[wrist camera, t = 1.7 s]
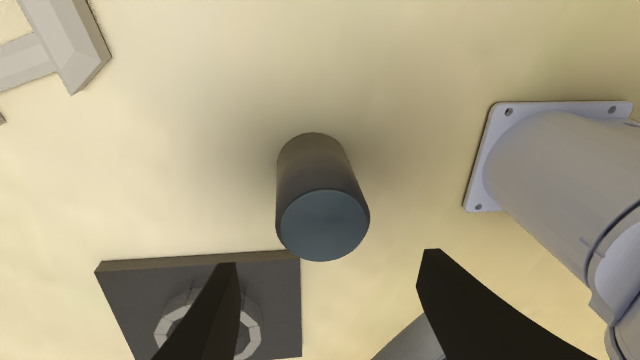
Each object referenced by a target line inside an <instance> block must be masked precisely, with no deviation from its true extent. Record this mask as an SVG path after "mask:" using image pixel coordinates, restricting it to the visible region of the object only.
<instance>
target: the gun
mask: <svg viewBox="0 0 640 360" xmlns="http://www.w3.org/2000/svg"><path fill="white" fill-rule="evenodd" d="M16 1H17V3H18V4H19V6H20V8H21V10H22V11H23V13H24V15H25V17H26V18H27V20H28V22H29V24H30V25H31V27H32V29H33V31H34V32H32V33H30V34H28V35H25V36H23V37H20V38H18V39H15V40H13V41H11V42H8V43H6V44H3V45H1V46H0V92H2V91H4V90H7V89H10V88H12V87H15V86H18V85H20V84H23V83H26V82H28V81H31V80H34V79H36V78H39V77H42V76H44V75H47V74H50V73H52V72H55V71H57V73H58V75H59V77H60V78H61V80H62V82H63V84H64V85H65V87H66V89H67V91H68V92H69V94H70V96H72V95H74V94H76V93H78V92H79V91H81V90H83V88H84V87H85V86H86V85H87V84H88V83H89V82H90V81H91V79H92V78H93V77H94V76H95V75H96V74H97V73H98V71H99V70H100V69H101V68H102V67H103V66H104V65H105V64H106V62H107V61H108V60H109V59H110V58H111V55H110V53H109V51H108V49H107V47H106V44H105V42H104V40H103V38H102V36H101V34H100V31H99V29H98V27H97V25H96V23H95V21H94V18H93V16H92V14H91V12H90V10H89V8H88V5H87V3H86V1H85V0H16ZM4 123H6V122H5V120H4V119H3V118H2V116H1V115H0V125H2V124H4Z"/></svg>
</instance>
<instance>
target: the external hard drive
mask: <svg viewBox="0 0 640 360" xmlns="http://www.w3.org/2000/svg"><path fill="white" fill-rule="evenodd" d="M372 360H447V358H446V356H445V354H444V352H443V350H442V348H441V346H440V344H439V342H438V340H437V338H436V336H435V334H434V331H433V329H432V327H431V325H430V323H429V321H428V319H427V317H426V315H425V312H424V313H423V314H422V315H420V316H419V317H418V318H417V319H416V320H414V321H413V322H412V323H411V324H410V325H409V326H407V327H406V328H405V329H404V330H403V331H402V332H401V333H399V334H398V335H397V336H396V337H395V338H394V339H393V340H392V341H391V342H390V343H388V344H387V345H386V346H385V347H384V348H383V349H382V350H381V351H380V352H379V353H378V354H377V355H376V356H375V357H374V358H373V359H372Z"/></svg>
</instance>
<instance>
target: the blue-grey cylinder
mask: <svg viewBox="0 0 640 360" xmlns="http://www.w3.org/2000/svg"><path fill="white" fill-rule="evenodd" d="M369 224H370V212H369V208H368V206H367V203H366V201H365V199H364V196H363V194H362V191H361V189H360V187H359V184H358V182H357V180H356V177H355V175H354V173H353V170H352V168H351V166H350V163H349V161H348V159H347V156H346V154H345V152H344V150H343V148H342V146H341V145H340V144H339V143H338V142H337V141H336V140H335V139H333V138H332V137H330V136H328V135H325V134H322V133H305V134H301V135H298V136H296V137H294V138H293V139H291V140H290V141H289V142H288V143H287V144H286V145H285V146H284V147H283V148H282V150H281V152H280V154H279V157H278V162H277V189H276V219H275V228H276V233H277V236H278V238H279V240H280V241H281V243H282V244H283V245H284V246H285V247H286V248H287V249H288V250H289V251H290V252H292V253H293V254H295V255H296V256H298V257H300V258H302V259H305V260H309V261H316V262H324V261H331V260H335V259H338V258H341V257H343V256H345V255H347V254H349V253H350V252H351V251H353V250H354V249H355V248H356V247H357V246H358V245H359V244H360V242H361V241H362V240H363V238H364V236H365V235H366V233H367V231H368V228H369Z"/></svg>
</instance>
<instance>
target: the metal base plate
mask: <svg viewBox="0 0 640 360" xmlns="http://www.w3.org/2000/svg"><path fill="white" fill-rule="evenodd" d="M226 262H236V269H237V275H238V281H239V287H240V293H241V299H242V302H241V315H240V327H239V333H238V338H237V344H236V349H235V354H234V359H233V360H274V359H284V358H294V357H302V332H301V291H300V257H298V256H296V255H295V254H293V253H292V252H290V251H289V250H281V251H264V252H248V253H232V254H216V255H200V256H184V257H167V258H151V259H135V260H119V261H103V262H101V263H100V264H99V266H98V267H97V268H96V270H95V271H94V274H95V276H96V278H97V280H98V282H99V284H100V286H101V288H102V290H103V293H104V295H105V297H106V299H107V301H108V303H109V305H110V307H111V309H112V312H113V314H114V316H115V318H116V320H117V322H118V324H119V326H120V328H121V330H122V333H123V335H124V337H125V339H126V341H127V343H128V345H129V347H130V349H131V352H132V354H133V356H134V358H135V360H150V359H151V358H152V357H153V356H154V354H155V353H156V352H157V351H158V350H159V348H160V347H161V346H162V345H163V343H164V342H165V341H166V339H167V338H168V337H169V336H170V334H171V333H172V331H173V330H174V329H175V327H176V326H177V325H178V323H179V322H180V321H181V319H182V318H183V317H184V315H185V314H186V312H187V311H188V309H189V308H190V306H191V305H192V303H193V302H194V300H195V299H196V297H197V296H198V294H199V293H200V291H201V290H202V288H203V286H204V285H205V283H206V282H207V280H208V278H209V277H210V275H211V273H212V271H213V269H214V268H215V266H216V265H217V264H218V263H226Z"/></svg>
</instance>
